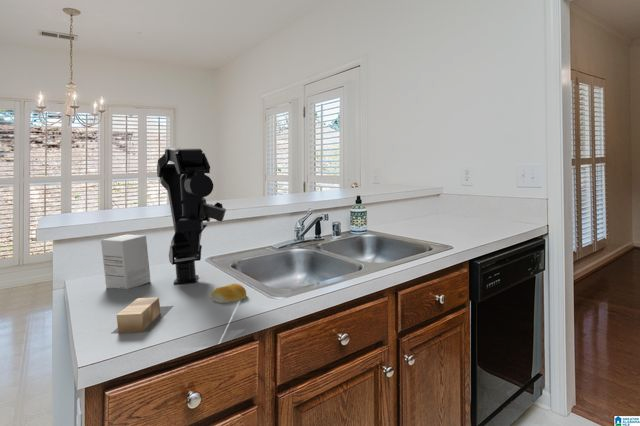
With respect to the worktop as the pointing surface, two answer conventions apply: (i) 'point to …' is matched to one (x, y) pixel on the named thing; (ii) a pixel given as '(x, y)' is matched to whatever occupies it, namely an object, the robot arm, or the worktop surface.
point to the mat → (162, 313)
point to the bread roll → (228, 293)
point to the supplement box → (125, 261)
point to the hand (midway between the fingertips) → (196, 251)
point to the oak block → (138, 315)
